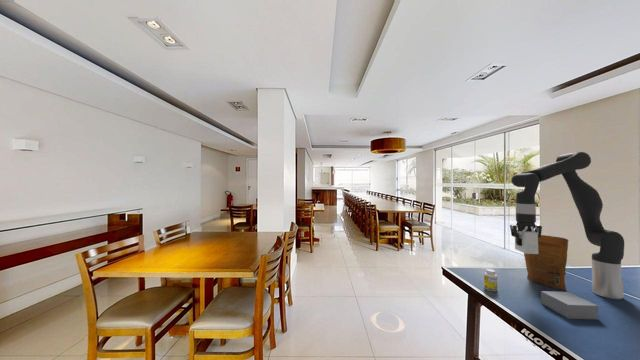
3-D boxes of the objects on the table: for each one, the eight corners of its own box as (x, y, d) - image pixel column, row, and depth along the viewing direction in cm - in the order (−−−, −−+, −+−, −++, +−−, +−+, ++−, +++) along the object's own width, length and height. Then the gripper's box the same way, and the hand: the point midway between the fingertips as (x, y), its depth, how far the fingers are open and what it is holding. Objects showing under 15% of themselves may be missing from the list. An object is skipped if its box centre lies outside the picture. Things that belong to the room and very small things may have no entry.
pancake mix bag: (566, 293, 116) (566, 239, 116) (520, 279, 133) (520, 231, 133) (571, 290, 119) (571, 237, 119) (526, 276, 136) (525, 230, 136)
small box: (538, 254, 108) (538, 232, 109) (525, 253, 110) (525, 232, 110) (527, 249, 116) (526, 229, 116) (514, 249, 117) (514, 229, 118)
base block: (567, 304, 105) (567, 291, 105) (598, 320, 93) (598, 305, 93) (541, 303, 106) (541, 291, 106) (568, 319, 94) (568, 304, 94)
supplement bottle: (484, 286, 123) (484, 267, 123) (497, 289, 120) (497, 270, 120) (484, 289, 119) (483, 270, 119) (497, 292, 115) (497, 273, 116)
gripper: (533, 211, 117) (534, 243, 116) (505, 211, 117) (505, 243, 117) (547, 213, 109) (548, 248, 109) (516, 213, 110) (517, 247, 110)
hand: (526, 245), depth 113 cm, fingers closed on small box, 6 cm apart
